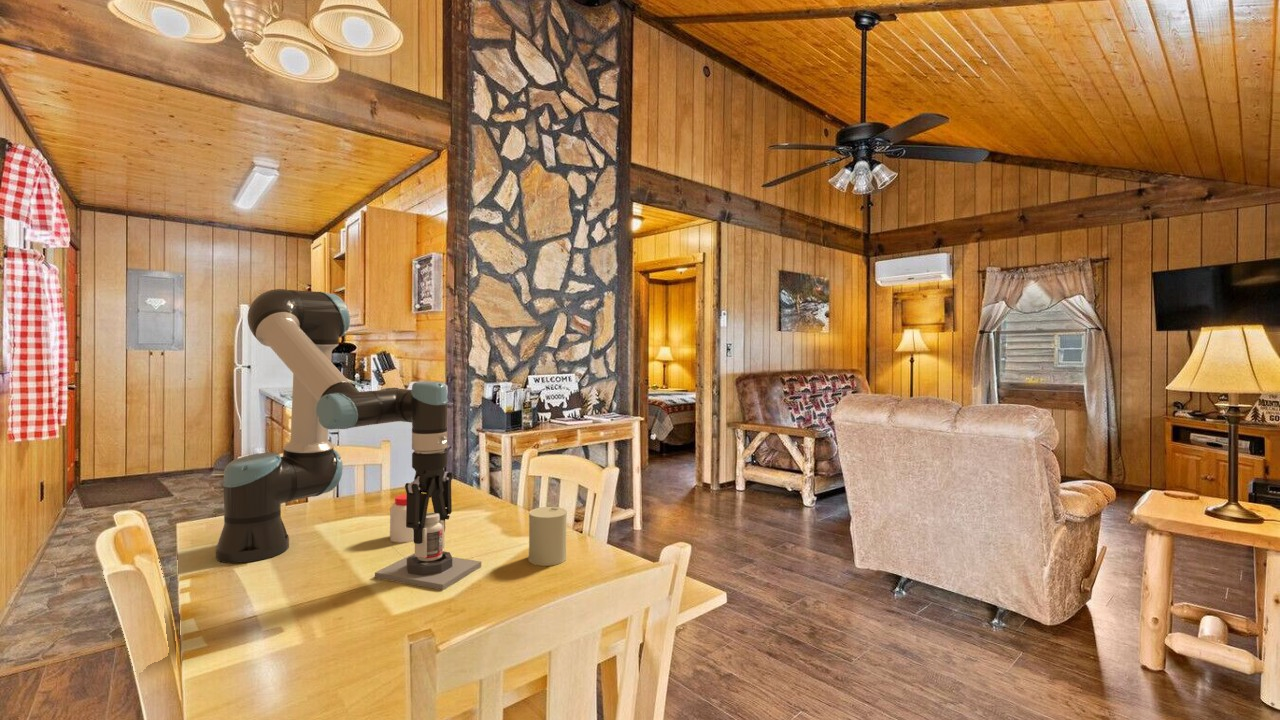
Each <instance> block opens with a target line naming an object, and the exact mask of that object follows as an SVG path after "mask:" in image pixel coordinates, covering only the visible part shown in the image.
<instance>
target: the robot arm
mask: <svg viewBox="0 0 1280 720" xmlns="http://www.w3.org/2000/svg"><path fill="white" fill-rule="evenodd" d="M247 324H248V327H249V330H250V332H251V334H252V335H253V336H254V337H255V338H256V340H257V341H258V343H260V344H261V345H263V346H265V347H270V349H272V351H273V352H274V353H275V354H276V355H277V357H278V358H279V359H280V360H281V361H282V363H284V365H285V366H286V367H287V368H288V369H289V371H291V372H292V374H293V375H292V398H291V400H292V401H291V417H290V418H291V419H290V420H291V421H290V422H291V423H290V440H289V441H288V442H287V443H286V444H285V445H284V446H283V448H282V449H283V451H282V453H283V454H282V456H281V455H280V454H279V453H278V452H262V453H253V454H250V455H245V456H242V457H239V458H236V459H233V460H231V461H230V462H229V463H228V464H227V465H226V466H225V468H224V472H223V481H222V485H223V517H224V518H223V528H222V530H221V533H220V536H219V538H218V543H217V545H216V546H215V559H216V560H217V559H218V560H220V561H219V562H221V561H223V562H222V563H228V562H229V563H230V564H233V563H234V564H236V563H239V562H240V563H249V562H250V563H251V562H256V561H262V560H266V559H269V558H273V557H275V556H278V555H280V554H282V553H284V552H286V551H287V550H288V549H289V548H290V537H289V534H288V533H287V529H286V527H285V524H284V521H283V519H282V511H281V509H282V504H284V503H290V502H293V501H298V500H303V499H308V498H311V497H312V498H314V497H318V496H321V495H323V494H326V493H330V492H332V491H333V490H334V489H335V488H337V486H338V485H339V483H340V481H341V479H342V476H343V469H344V465H343V461H342V460H341V455H340V454H339V452H338V451H337V450H335V449H334V444H333V443H332V442H331V441H330V440H329V439H328V438H329V430H348V429H352V428H359V427H364V426H372V425H380V424H388V423H396V422H402V423H405V422H406V423H411V426H412V427H411V449H412V450H413V452H412V453H411V467H412V469H413V470H414V471H415V474H414V479H413V481H411V482H410V483H409V482H406V483H405V484H404V488H405V493H406V494H407V504H406V527H407V528H413V530H414V541H413V544H414V553H415V557H421V558H426V557H427V528H424V525H425V519H426V514H427V513H428V508H429V501H430V499H431V503H432V508H433V513H438V514H439V516H440V520H439V521H438V523H440V524H442V528H443V533H442V534H443V535H442V550H443V549H445V532H446V521H447V520H449V519H450V518H451V516H450V515H451V514H452V512H453V509H452V507H453V506H452V505H453V504H452V480H453V474H454V473H453V472H451V471H445V469H444V468H447V466H448V451H447V450H446V449H447V448H448V403H449V399H448V389H447V384H445V383H444V382H442V381H416V382H413V383H412V386H411V389H407V388H399V387H387V388H386V387H384V388H380V389H379V390H366V391H363V390H362V391H360V390H358V389H357V388H356V387H355V386H354V385H353V384H352V383H351V382H350V381H349V380H348V378H347V377H346V376H345V375H344V374H343V373H342V372H341V371H340V370H339V369H338V367H336V365H335V364H333V362H332V352H333V350H334V349H335V348H337V347H338V346H339V344H340V338H342V337H344V336H345V335H346V334H347V333H348V331H349V328H350V326H351V315H350V311H349V309H348V305H347V304H346V303H345V301H344V300H343V299H342V298H341V297H340V296H339V295H337V294H334V293H330V292H323V291H311V290H296V289H287V288H286V289H285V288H274V289H270V290H267V291H264V292H262V293H260V295H258V296H256V298H255V299H253V301H252V302H251V304H250V306H249V308H248V311H247ZM218 560H217V561H218Z"/></svg>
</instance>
